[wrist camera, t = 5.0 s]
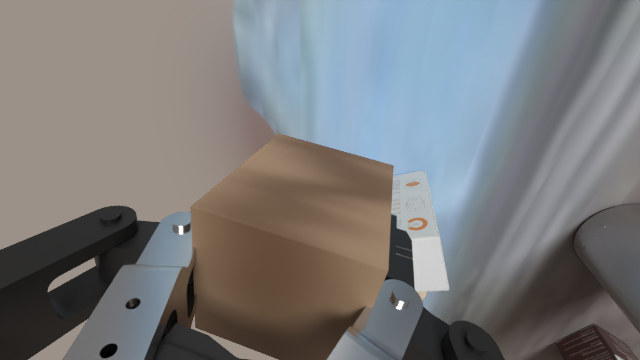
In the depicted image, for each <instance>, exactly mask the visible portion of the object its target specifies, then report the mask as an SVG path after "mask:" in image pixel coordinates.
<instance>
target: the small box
mask: <svg viewBox="0 0 640 360" xmlns="http://www.w3.org/2000/svg"><path fill="white" fill-rule="evenodd" d="M391 214H393V215H396V216H397V228H398V229H401V230H404V231H407V233H408V235H409V237H410V238H411V240H412V252H413V259H412V260H413V268H414V286H415V290H416V291H417V292H430V291H449V284H448V278H447V272H446V267H445V261H444V256H443V251H442V245H441V240H440V236H439V232H438V228H437V223H436V219H435V214H434V209H433V205H432V200H431V195H430V190H429V186H428V181H427V177H426V173H425V171H424V170H422V171H417V172H411V173H406V174H401V175H396V176H393V186H392V207H391Z"/></svg>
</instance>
